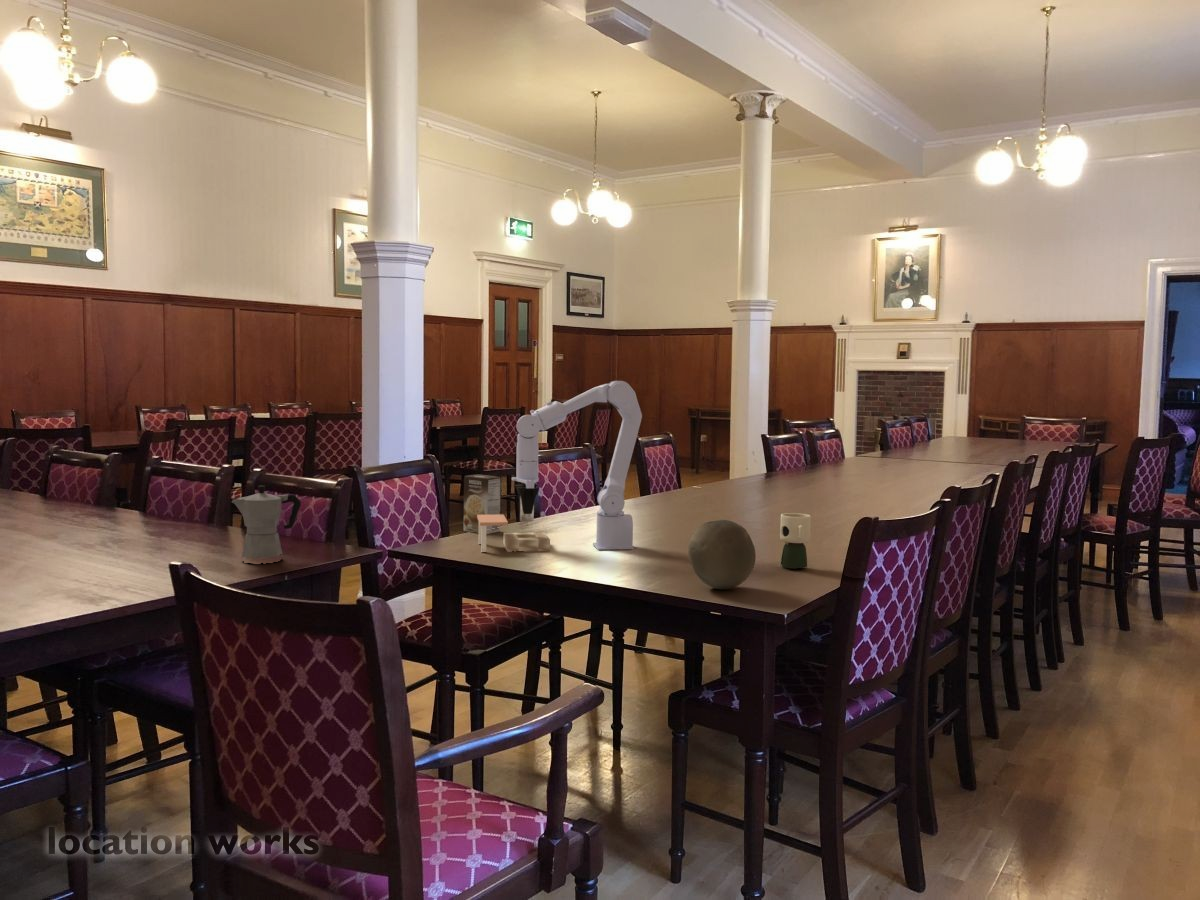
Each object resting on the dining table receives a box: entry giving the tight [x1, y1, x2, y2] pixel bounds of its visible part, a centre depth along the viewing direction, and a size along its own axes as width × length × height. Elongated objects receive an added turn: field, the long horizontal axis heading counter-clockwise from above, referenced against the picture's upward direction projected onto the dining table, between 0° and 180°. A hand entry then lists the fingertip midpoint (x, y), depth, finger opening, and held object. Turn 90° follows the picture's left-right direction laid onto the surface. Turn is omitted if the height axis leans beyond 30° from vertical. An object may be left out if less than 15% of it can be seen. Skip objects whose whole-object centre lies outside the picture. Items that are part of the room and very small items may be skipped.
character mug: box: [779, 512, 812, 570], centre depth 219 cm, size 11×7×13 cm, turn 3°
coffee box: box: [462, 473, 502, 535], centre depth 262 cm, size 9×6×16 cm
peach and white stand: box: [477, 513, 509, 553], centre depth 237 cm, size 7×13×8 cm, turn 11°
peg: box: [519, 496, 535, 522], centre depth 238 cm, size 4×4×8 cm
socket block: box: [503, 531, 551, 553], centre depth 239 cm, size 11×11×3 cm
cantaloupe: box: [688, 519, 757, 590], centre depth 195 cm, size 14×14×15 cm
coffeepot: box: [231, 484, 302, 558], centre depth 216 cm, size 15×9×18 cm, turn 115°
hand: (526, 512), depth 238 cm, fingers closed on peg, 4 cm apart
